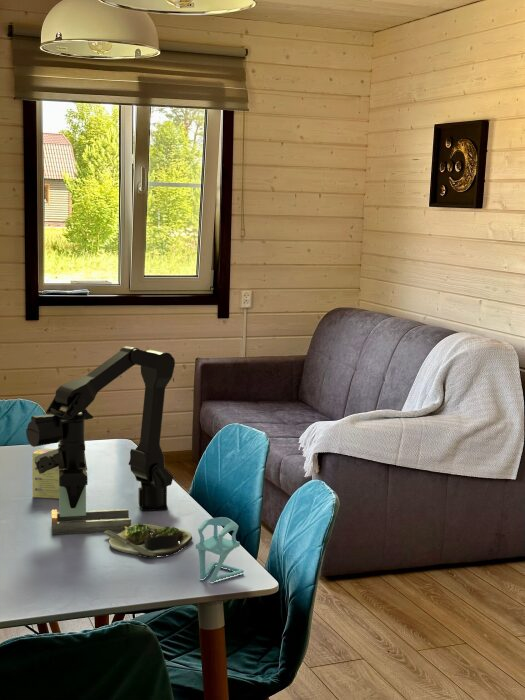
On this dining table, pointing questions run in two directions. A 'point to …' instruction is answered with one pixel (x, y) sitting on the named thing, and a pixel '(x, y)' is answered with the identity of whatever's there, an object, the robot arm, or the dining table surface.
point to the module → (65, 505)
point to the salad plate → (149, 540)
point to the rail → (91, 522)
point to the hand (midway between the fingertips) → (72, 504)
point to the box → (45, 479)
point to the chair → (217, 547)
